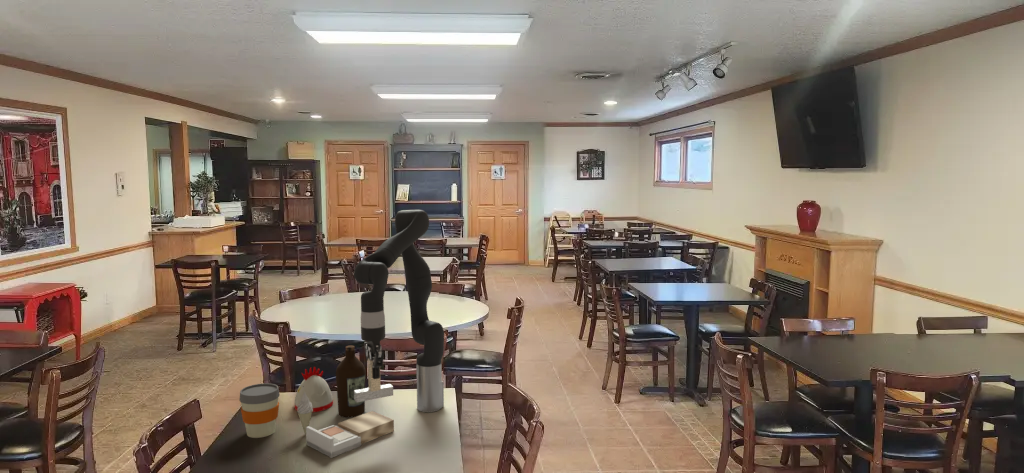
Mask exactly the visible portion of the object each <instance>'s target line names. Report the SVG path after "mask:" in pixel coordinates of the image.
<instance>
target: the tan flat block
mask: <svg viewBox="0 0 1024 473" xmlns="http://www.w3.org/2000/svg"><path fill="white" fill-rule="evenodd" d="M394 423H395V420H394V419H393V418H390V417H387V416H385V415H384V414H381V413H378V412H375V411H373V410H371V411H368V412H366V413H365V412H364V413H363V414H362V415H360V416H357V417H350V418H348V419H345V420H344V421H340V422H337V426H338V427H340V428H343V429H345V430H347V431H349V432H351V433H353V434H355V435H357V436H360V437H361V445H363V444H365V443H368V442H370V441H373V440H375V439H377V438H381V437H383V436H385V435H388V434H391V433H392V432H394V431H395V424H394Z"/></svg>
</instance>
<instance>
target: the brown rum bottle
mask: <svg viewBox="0 0 1024 473" xmlns="http://www.w3.org/2000/svg"><path fill="white" fill-rule="evenodd" d="M355 348H356V347H355V345H346V346H345V351H344V352H345V356H344V358H343V359H342V360H341V361H340V363H338V365H337V366H336V370H335V383H336V395H337V413H338V415H339V417H342V418H348V419H351V418H354V417H357V416H360V415H362V414H365V412H366V408H365V407H366V401H362V402H356V401H355V400H354V390H358V389H364V388H366V375H367V374H366V373H367V372H366V368H365V367H366V366H365V365H364V363H363V362H362V361H361V360H360V359H358V357H357V356H356V349H355Z"/></svg>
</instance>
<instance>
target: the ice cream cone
mask: <svg viewBox="0 0 1024 473" xmlns="http://www.w3.org/2000/svg"><path fill="white" fill-rule="evenodd" d="M297 410H298V411H297ZM297 410H296V411H297V412H296V413H297V414H298V417H299V422H300V423H301V425H302V426H301V427H302V429H303V432H304V435H306V427H308V426H310V422H311V417H312V414H313V412H312V411H313V409H312V403H311V402H309V399H308V397H307V396H306V394H305V392H304V394H303V396H302V398H301V402H300V403H299V405H298V408H297Z"/></svg>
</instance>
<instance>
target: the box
mask: <svg viewBox="0 0 1024 473" xmlns="http://www.w3.org/2000/svg"><path fill="white" fill-rule="evenodd" d="M333 427H337V428H340V427H338V425H334V424H332V425H329V426H327V427H326V426H325V427H324V428H320V429H318V430H317V429H316V428H315V427H312V426H310V425H309V426H308V427H306V436H305V437H306V446H308V447H310V448H312V449H313V450H315V451H318V452H319V453H321V454H323V455H325V456H327V457H329V458H330V459H331V458H334V457H337V456H340V455H342V454H344V453H345V454H346V453H348V452H349V451H352V450H354V449H357V448H360V447H361V446H362V444H361V437H360V436H357V435H355V434H353V433H351V432H349V431H347V430H345V429H343V428H340V429H342V430H344V431H345V432H347V433H349V434H351V435H354V437H352V438H349V439H346V440H344V441H341V442H338V443H336V444H334V438H332V437H330V436H328V435H326V434H324V433H322V431H324V430H327V429H330V428H333Z"/></svg>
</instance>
